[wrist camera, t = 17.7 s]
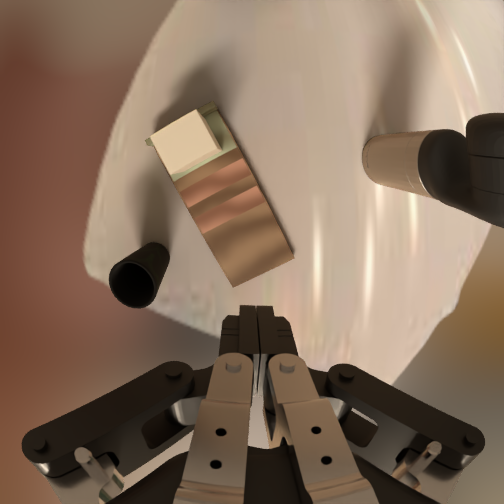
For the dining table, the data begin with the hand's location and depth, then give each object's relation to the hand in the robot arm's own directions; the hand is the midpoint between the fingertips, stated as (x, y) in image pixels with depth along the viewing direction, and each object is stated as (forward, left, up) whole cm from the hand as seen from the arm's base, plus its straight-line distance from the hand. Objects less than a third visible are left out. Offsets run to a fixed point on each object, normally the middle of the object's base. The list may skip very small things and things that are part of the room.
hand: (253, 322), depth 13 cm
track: (+4, -1, -35) cm, 35 cm away
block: (+9, -9, -34) cm, 36 cm away
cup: (+16, +10, -35) cm, 40 cm away
